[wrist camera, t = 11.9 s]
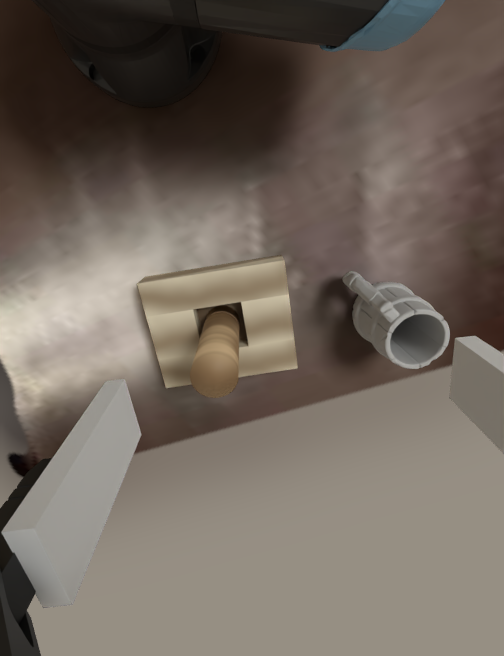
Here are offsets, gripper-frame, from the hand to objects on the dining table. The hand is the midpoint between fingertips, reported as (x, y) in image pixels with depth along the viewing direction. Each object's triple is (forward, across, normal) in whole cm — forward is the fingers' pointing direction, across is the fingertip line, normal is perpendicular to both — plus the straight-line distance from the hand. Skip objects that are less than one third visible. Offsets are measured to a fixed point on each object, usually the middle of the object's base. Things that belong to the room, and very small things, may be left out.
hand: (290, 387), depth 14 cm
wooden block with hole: (+28, -5, -7) cm, 30 cm away
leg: (+27, -5, -7) cm, 29 cm away
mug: (+29, +13, -7) cm, 32 cm away
